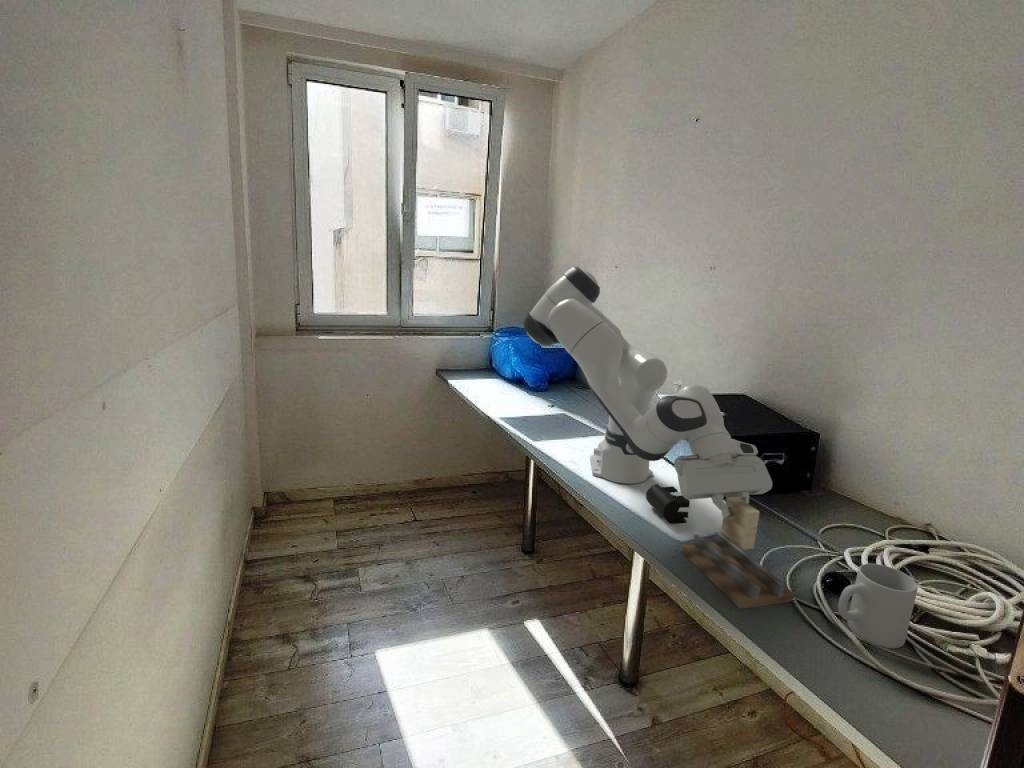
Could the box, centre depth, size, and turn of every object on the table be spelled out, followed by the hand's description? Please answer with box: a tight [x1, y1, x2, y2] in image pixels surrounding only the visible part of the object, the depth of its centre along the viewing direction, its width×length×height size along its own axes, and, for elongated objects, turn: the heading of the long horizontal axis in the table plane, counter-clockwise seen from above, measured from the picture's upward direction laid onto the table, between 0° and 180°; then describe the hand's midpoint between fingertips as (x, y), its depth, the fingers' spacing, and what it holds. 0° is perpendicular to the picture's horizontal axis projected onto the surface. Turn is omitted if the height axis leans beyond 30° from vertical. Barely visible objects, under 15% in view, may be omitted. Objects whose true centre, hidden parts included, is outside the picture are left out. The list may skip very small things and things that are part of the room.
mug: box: [838, 563, 919, 649], centre depth 89 cm, size 12×8×11 cm
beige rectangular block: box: [720, 496, 761, 551], centre depth 103 cm, size 7×2×8 cm, turn 14°
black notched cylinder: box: [645, 483, 690, 525], centre depth 130 cm, size 10×7×7 cm
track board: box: [680, 531, 796, 610], centre depth 106 cm, size 20×12×4 cm, turn 14°
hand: (737, 516), depth 104 cm, fingers closed on beige rectangular block, 2 cm apart
